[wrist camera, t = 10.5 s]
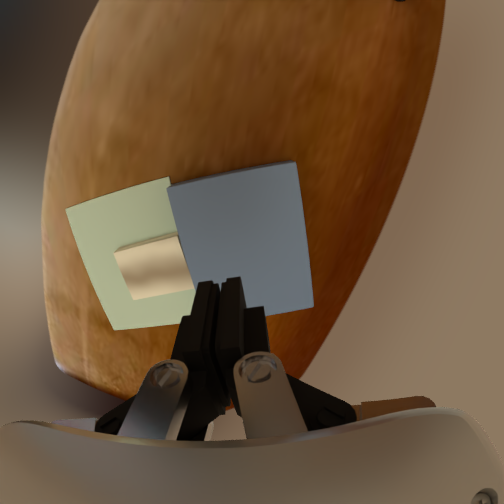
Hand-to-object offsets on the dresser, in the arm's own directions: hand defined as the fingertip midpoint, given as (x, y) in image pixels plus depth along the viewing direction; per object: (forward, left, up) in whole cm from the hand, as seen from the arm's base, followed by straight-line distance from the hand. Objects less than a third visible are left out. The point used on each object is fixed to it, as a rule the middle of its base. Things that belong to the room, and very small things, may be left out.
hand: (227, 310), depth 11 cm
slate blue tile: (+6, 0, -23) cm, 24 cm away
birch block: (+6, -12, -23) cm, 26 cm away
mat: (+6, -15, -23) cm, 28 cm away
